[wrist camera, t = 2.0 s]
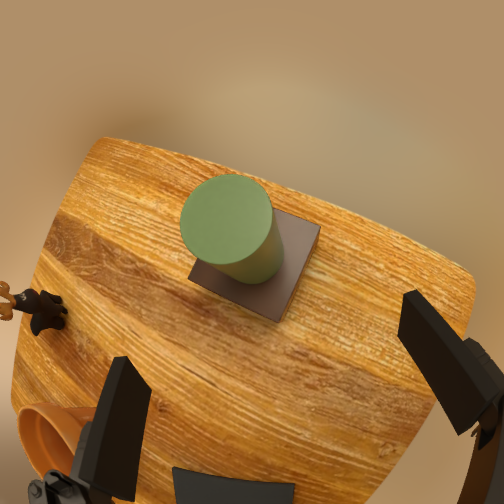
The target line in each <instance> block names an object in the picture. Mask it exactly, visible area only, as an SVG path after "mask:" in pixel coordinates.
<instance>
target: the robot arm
mask: <svg viewBox="0 0 504 504" xmlns="http://www.w3.org/2000/svg"><path fill="white" fill-rule="evenodd" d="M397 336H398V338H399V339H400V341H401V342H402V344H403V345H404V347H405V348H406V350H407V351H408V353H409V354H410V356H411V357H412V359H413V360H414V362H415V363H416V365H417V366H418V368H419V370H420V371H421V373H422V374H423V376H424V378H425V379H426V381H427V382H428V384H429V386H430V387H431V389H432V391H433V392H434V394H435V396H436V397H437V399H438V401H439V402H440V404H441V406H442V408H443V409H444V411H445V413H446V414H447V416H448V418H449V420H450V422H451V424H452V425H453V427H454V429H455V431H456V433H457V435H458V436H459V435H460V434H462V433H464V432H465V431H467V430H468V429H470V428H471V427H472V426H473V425H474V424H475V423H476V422H477V420H478V422H479V425H478V426H477V427H476V428H475V429H474V431H473V432H472V434H471V437H473V436H474V435H475V433H477V435H476V440H475V445H474V450H473V454H472V458H471V462H470V466H469V469H468V473H467V476H466V479H465V483H464V486H463V489H462V491H461V494H460V497H459V500H458V502H457V504H504V374H503V373H502V372H501V370H500V369H499V368H498V366H497V365H496V364H495V362H494V361H493V360H492V359H490V356H489V355H488V354H487V353H486V352H485V350H484V349H483V348H482V346H481V345H480V344H479V343H478V342H476V341H474V340H473V339H471V338H468V339H466V340H464V341H462V340H461V338H460V337H459V336H458V335H457V334H456V332H455V331H454V330H453V329H452V328H451V327H450V325H449V324H448V323H447V322H446V321H445V320H444V319H443V317H442V316H441V315H440V314H439V313H438V312H437V311H436V310H435V309H434V307H433V306H432V305H431V304H430V303H429V302H428V301H427V300H426V299H425V298H424V297H423V296H422V294H421V293H420V292H419V291H418V290H417V289H416V290H413V291H410V292H407V293H405V294H404V295H403V303H402V310H401V317H400V323H399V329H398V335H397ZM151 392H152V390H151V388H150V387H149V386H148V385H147V383H146V382H145V381H144V379H143V378H142V377H141V375H140V374H139V373H138V371H137V370H136V368H135V367H134V366H133V364H132V363H131V361H130V360H129V359H128V357H127V356H122V357H114V359H113V362H112V364H111V367H110V370H109V373H108V375H107V378H106V381H105V384H104V387H103V390H102V393H101V396H100V399H99V402H98V405H97V408H96V411H95V414H94V418H93V421H87V423H86V424H85V425H84V427H83V428H82V430H81V434H80V437H79V441H78V444H77V448H76V451H75V455H74V459H73V463H72V467H71V471H70V474H69V477H68V476H66V475H65V474H63V473H61V472H60V471H58V470H55V469H52V470H49V471H48V472H46V474H45V475H44V477H43V482H41V481H39V480H33V481H32V482H31V483H30V484H29V487H28V497H29V503H30V504H115V502H114V501H113V500H111V499H112V496H113V497H116V498H118V499H120V500H125V501H131V502H135V493H136V484H137V476H138V468H139V461H140V454H141V447H142V441H143V435H144V429H145V423H146V418H147V412H148V407H149V402H150V397H151Z"/></svg>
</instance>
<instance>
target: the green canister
mask: <svg viewBox="0 0 504 504" xmlns="http://www.w3.org/2000/svg"><path fill="white" fill-rule="evenodd" d="M180 231H181V236H182V239H183V241H184V243H185V245H186V247H187V248H188V249H189V251H190V252H191V253H192V254H193V255H194V256H196V257H197V258H198V259H200V260H202V261H204V262H205V263H207V264H209V265H211V266H212V267H214V268H216V269H218V270H219V271H221V272H223V273H225V274H227V275H228V276H230V277H232V278H234V279H236V280H237V281H239V282H242V283H246V284H258V283H262V282H265V281H267V280H268V279H270V278H271V277H273V276H274V275H275V274H276V273H277V271H278V270H279V268H280V267H281V265H282V262H283V258H284V247H283V242H282V239H281V235H280V232H279V228H278V225H277V221H276V218H275V214H274V211H273V207H272V204H271V201H270V198H269V196H268V194H267V193H266V191H265V190H264V189H263V187H262V186H260V185H259V184H258V183H257V182H255V181H254V180H252V179H250V178H248V177H245V176H242V175H236V174H226V175H220V176H216V177H213V178H211V179H209V180H207V181H205V182H203V183H202V184H201V185H199V186H198V187H197V188H196V189H195V190H194V191H193V192H192V193H191V194H190V196H189V197H188V199H187V200H186V202H185V204H184V206H183V209H182V212H181V217H180Z"/></svg>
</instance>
